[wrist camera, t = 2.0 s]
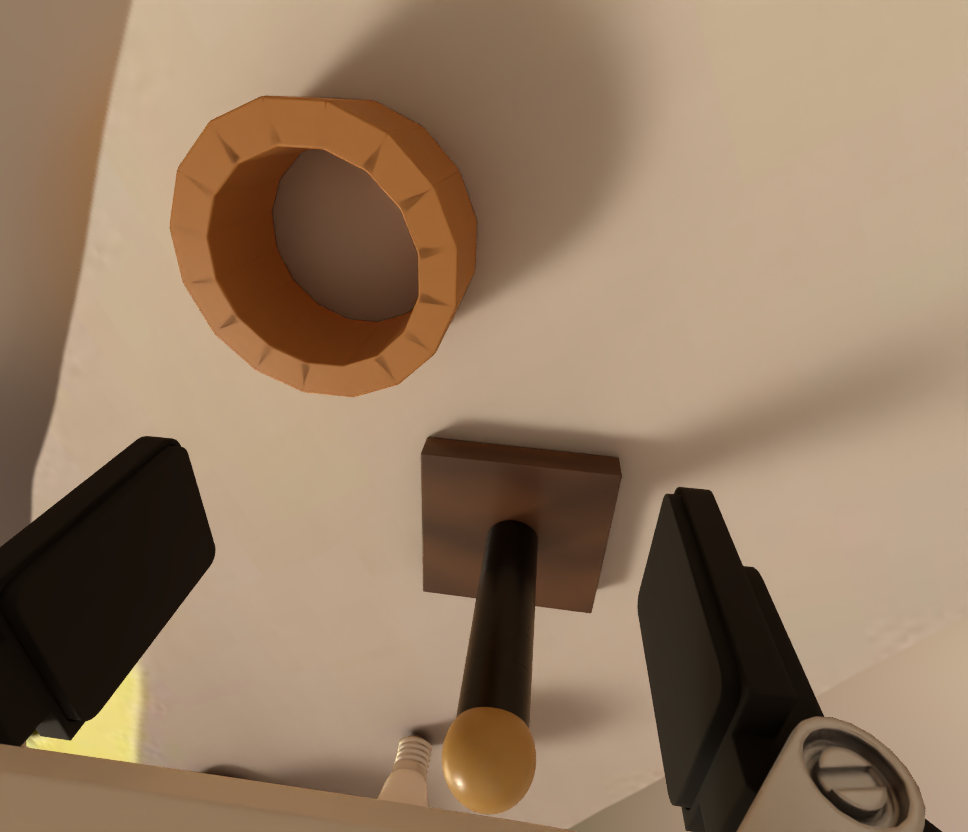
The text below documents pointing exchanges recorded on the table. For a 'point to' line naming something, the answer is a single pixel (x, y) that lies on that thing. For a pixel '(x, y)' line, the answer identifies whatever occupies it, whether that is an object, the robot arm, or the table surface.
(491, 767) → the hook peg
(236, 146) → the tape roll
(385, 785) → the lightbulb
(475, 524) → the hook base
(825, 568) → the table surface
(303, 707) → the table surface
